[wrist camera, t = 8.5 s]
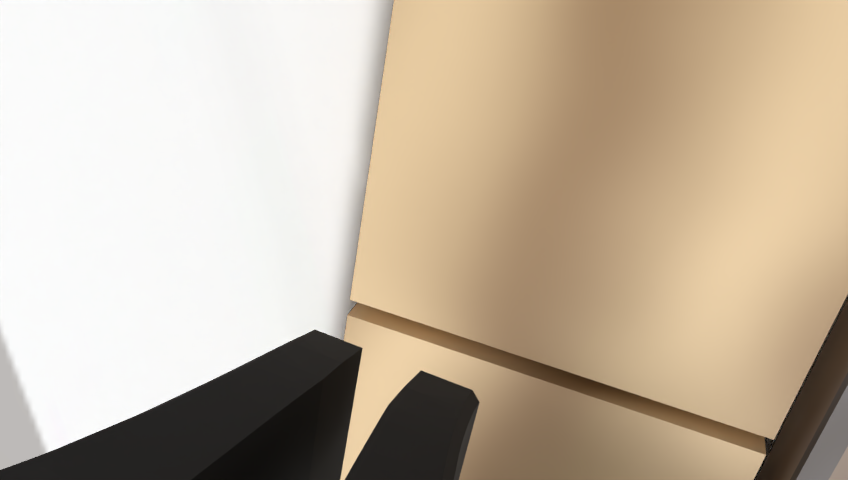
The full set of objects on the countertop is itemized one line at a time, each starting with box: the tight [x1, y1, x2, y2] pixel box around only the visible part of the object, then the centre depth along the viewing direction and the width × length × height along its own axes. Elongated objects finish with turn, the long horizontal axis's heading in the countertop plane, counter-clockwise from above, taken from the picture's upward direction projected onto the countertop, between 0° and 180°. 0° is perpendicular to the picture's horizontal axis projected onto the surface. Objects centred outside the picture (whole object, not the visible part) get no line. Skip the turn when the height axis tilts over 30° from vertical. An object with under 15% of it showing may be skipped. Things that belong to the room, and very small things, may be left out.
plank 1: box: [350, 0, 848, 440], centre depth 15 cm, size 9×11×2 cm
